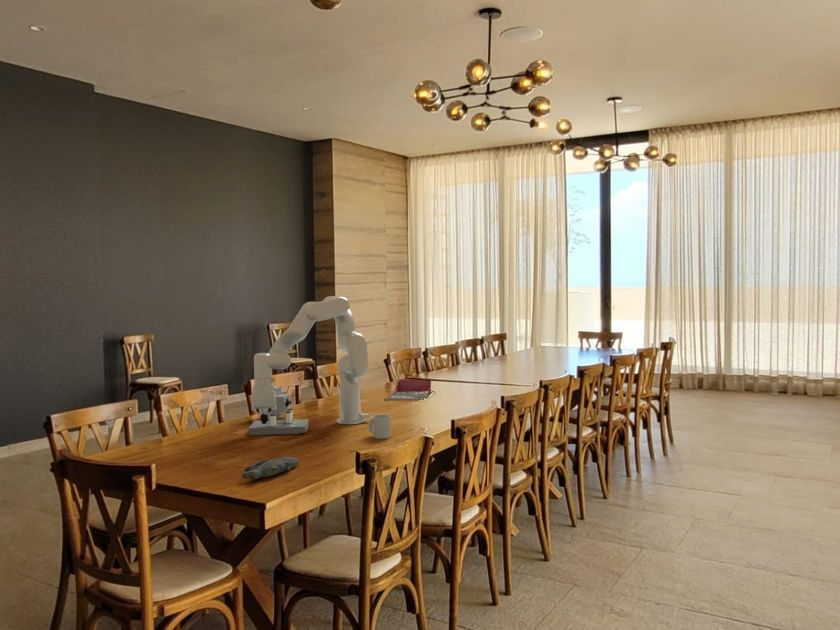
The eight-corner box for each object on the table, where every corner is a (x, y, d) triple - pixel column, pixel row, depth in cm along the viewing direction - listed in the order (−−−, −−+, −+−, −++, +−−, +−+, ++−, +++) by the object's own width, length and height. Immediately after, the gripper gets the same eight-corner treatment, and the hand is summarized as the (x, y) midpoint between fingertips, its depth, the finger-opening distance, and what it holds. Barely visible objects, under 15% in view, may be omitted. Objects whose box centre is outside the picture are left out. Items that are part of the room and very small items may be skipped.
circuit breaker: (287, 420, 333) (286, 389, 332) (259, 419, 336) (258, 388, 335) (293, 417, 340) (292, 386, 340) (266, 416, 343) (265, 386, 343)
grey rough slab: (305, 452, 249) (272, 453, 256) (258, 468, 226) (223, 468, 233) (306, 466, 248) (273, 467, 255) (259, 483, 226) (224, 483, 233)
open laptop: (437, 392, 416) (437, 378, 415) (426, 402, 381) (426, 387, 381) (397, 391, 420) (397, 378, 420) (383, 401, 386) (382, 386, 385)
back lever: (292, 419, 318) (292, 407, 318) (292, 420, 316) (291, 408, 315) (288, 419, 318) (287, 407, 318) (287, 420, 315) (287, 408, 315)
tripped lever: (276, 425, 306) (275, 413, 306) (275, 426, 303) (275, 414, 303) (271, 425, 306) (270, 413, 305) (270, 426, 303) (269, 414, 303)
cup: (385, 439, 289) (385, 418, 289) (364, 437, 294) (364, 416, 293) (393, 436, 296) (393, 415, 295) (372, 434, 300) (372, 413, 300)
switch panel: (308, 425, 320) (308, 418, 320) (305, 433, 303) (304, 426, 303) (255, 427, 318) (255, 420, 318) (248, 435, 301) (248, 428, 301)
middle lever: (291, 422, 312) (291, 410, 312) (290, 423, 310) (290, 411, 309) (286, 422, 312) (286, 410, 312) (285, 423, 309) (285, 411, 309)
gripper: (281, 380, 307) (282, 421, 308) (247, 380, 307) (248, 422, 307) (279, 382, 300) (280, 424, 301) (244, 383, 299) (245, 425, 300)
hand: (264, 423), depth 304 cm, fingers closed
